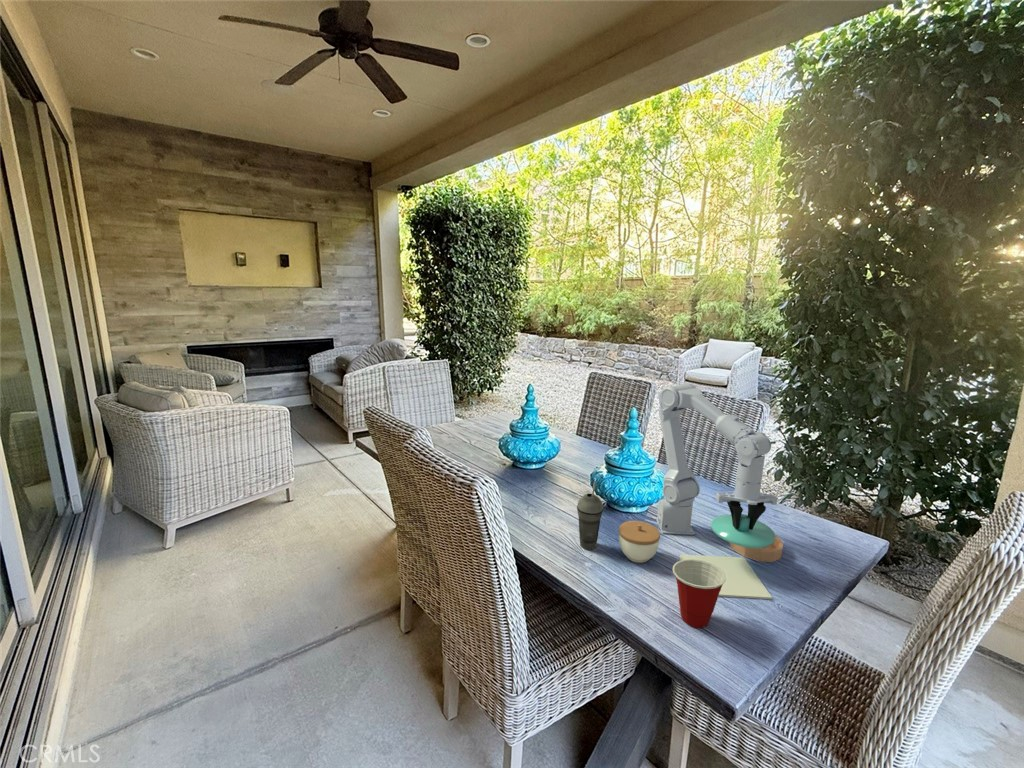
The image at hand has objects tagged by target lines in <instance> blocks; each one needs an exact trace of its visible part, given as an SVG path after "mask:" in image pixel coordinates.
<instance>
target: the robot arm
mask: <svg viewBox="0 0 1024 768" xmlns="http://www.w3.org/2000/svg"><path fill="white" fill-rule="evenodd" d="M658 401H659V403H658V404H659V409H658V410H659V411H658V414H659V420H660V426H661V432H662V438H663V439H662V440H663V443H664V449H665V457H666V462H667V467H668V471H667V472H666V474H665V475H664V476H663V478H662V481H663V486H662V495H663V496H664V499H659V501H658V505H657V517H656V520H655V521H656V522H657V526H658V527H659V528H660V533H662V534H667V535H670V534H671V535H687V536H689V535H690V536H691V535H692V536H695V535H696V534H695V531H694V529H693V528H692V526H691V523H692V515H693V505H694V501H695V498H697V496H699V494H700V492H701V491H700V490H701V488H700V487H701V486H700V485H699V483H698V481H697V478H696V475H695V473H694V472H693V471H692V470H690V469H689V468H688V462H687V461H688V460H687V455H686V449H685V444H684V438H683V433H682V432H683V431H682V426H681V420H680V416H681V415H682V413H684V411H685V410H687V409H693V410H695V411H697V412H698V413H699V414H700V415H702V416H704V417H705V418H706V419H708V420H709V421H710V422H712V423H713V424H714V425H715V430H716V431H717V432H718V433H719V434H720V435H721V436H723V437H724V438H725V439H726V440H728V441H729V442H730V443H731V444H732V445H733V446H734V447H735V451H736V454H737V470H736V478H735V484H734V485H735V486H734V490H731V491H723V492H716V495H715V500H716V501H717V502H718V503H719V504H720V503H721V504H722V503H727V506H728V509H729V512H730V515H731V516H732V523H733V526H734V528H735V529H739V524H740V517H741V514H743V511H744V508H743V507H742V505H741V504H742V503H745V504H747V515H748V516H749V517H750V525H749V529H750V530H753V528H754V525H755V523H756V521H759V518H760V517H761V516H762V515H763V514H764V513H765V512H766V511H767V507H766V506H765V504H771V505H772V506H773V505H774V506H776V505H778V504H777V503H778V497H777V496H776V495H775V494H770V493H763V492H761V488H762V481H763V480H762V479H763V473H764V468H765V467H764V466H765V458H766V455H767V454H768V453H769V452H770V451H771V449H772V443H771V439H770V438H769V437H768V435H766V434H765V433H764V432H761V431H755V430H754V429H753V428H751V427H749V426H747V425H746V424H745V423H744V422H742V421H741V420H740V417H739V416H737V415H736V414H735V415H733V414H731V413H730V414H725V413H723V412H722V411H721V410H720V409H719V408H718V407H716V406H715V405H714V403H713V402H711V401H710V400H709V399H708V398H707V397H706V396H704V395H703V394H702V390H701V389H700V388H698V387H696V386H695V385H694V384H693V383H691V382H690V383H689V382H688V383H685V384H677V385H671V386H669V385H668V386H664V387H663V388H662V389H661V391H660V392H659V393H658Z"/></svg>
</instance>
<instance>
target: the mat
mask: <svg viewBox="0 0 1024 768" xmlns="http://www.w3.org/2000/svg"><path fill="white" fill-rule="evenodd" d="M679 558H680V561H681V560H687V559H695V560H703V561H706V562H709V563H712V564H714V565H716V566H717V567H719V568H720V569H721V570H722V571H723V572H724V573H725V576H726V581H725V582H724V584H723V585H722V587H721V591H720V592H719V595H718V597H724V598H739V599H741V598H742V599H759V600H760V599H761V600H773V596H772V595H771V594H770V592H769V591H768V590H767V588H766V586H765V585H764V584H763V583H762V581H761V580H760V578H759V577H758V576H757V574H756V573H755V571H754V570H753V568H752V567H751V566H750V564H749V563H748V561H747V559H745V558H746V557H740V556H738V557H736V556H719V555H718V556H717V555H699V554H697V555H696V554H679Z"/></svg>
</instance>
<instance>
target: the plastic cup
mask: <svg viewBox="0 0 1024 768" xmlns="http://www.w3.org/2000/svg"><path fill="white" fill-rule="evenodd" d="M672 574H673V575H674V577H675V580H676V584H677V586H676V587H677V595H678V603H679V610H680V612H679V613H680V617H681V619H682V621H683V622H684V623H685V624H686V625H688V626H690V627H692V628H696V629H704V628H706V627H707V626H708V625H709V623H710V621H711V618H712V615H713V613H714V610H715V608H716V604H717V601H718V598H719V596H718V595H719V592H720V591H721V587H722V585H723V584H724V582H725V581H726V576H725V573H724V572H723V571H722V570H721V569H720V568H719V567H717V566H716V565H714V564H712V563H709V562H706V561H703V560H695V559H687V560H681V559H680V560H679V561H677V562H675V564H673V566H672Z"/></svg>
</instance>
